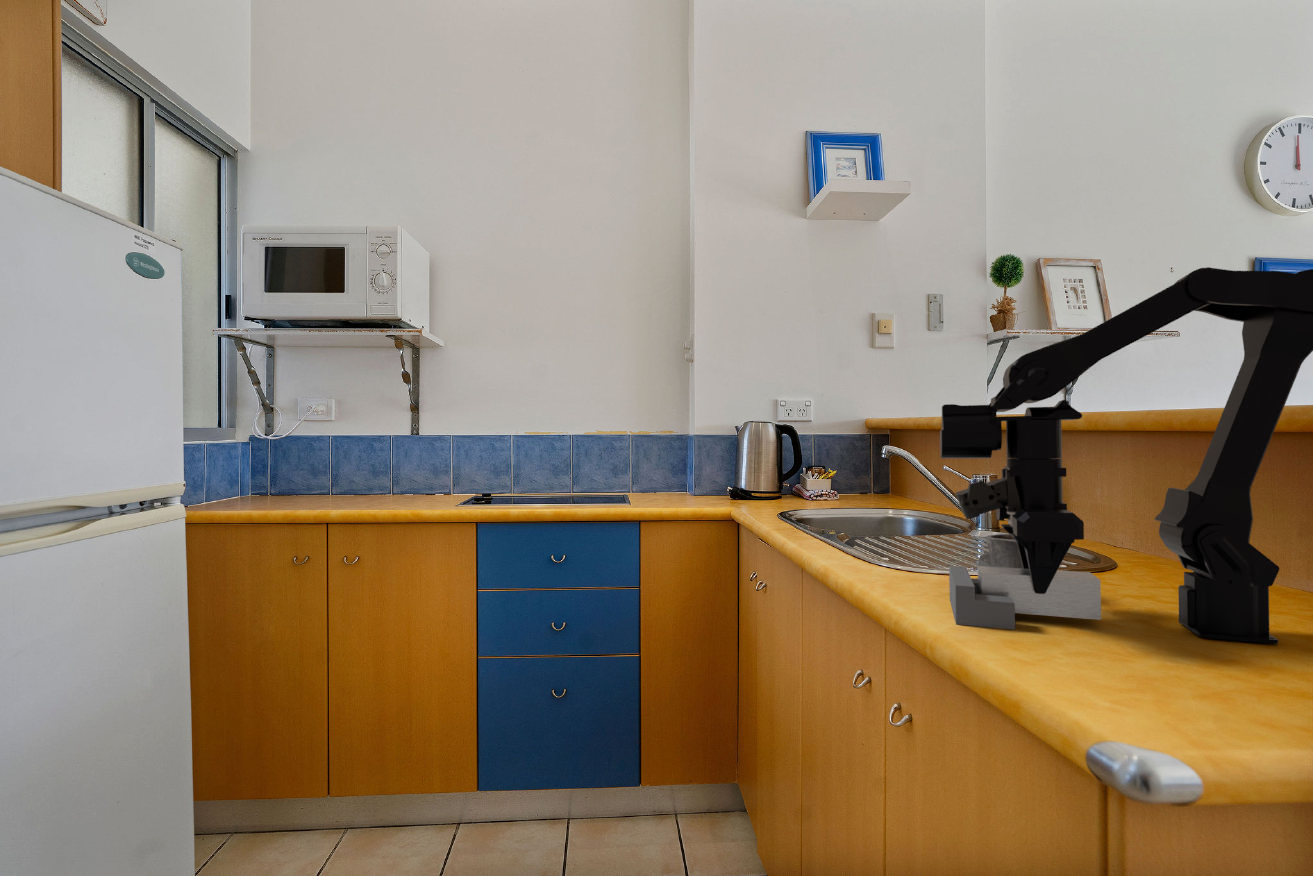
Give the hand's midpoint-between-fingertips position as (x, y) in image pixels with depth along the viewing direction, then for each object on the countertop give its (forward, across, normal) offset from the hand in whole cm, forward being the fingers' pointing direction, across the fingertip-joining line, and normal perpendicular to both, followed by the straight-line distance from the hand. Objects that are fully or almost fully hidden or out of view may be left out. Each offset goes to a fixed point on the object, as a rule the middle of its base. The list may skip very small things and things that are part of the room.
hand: (1035, 588), depth 75 cm
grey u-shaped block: (+3, 0, -6) cm, 7 cm away
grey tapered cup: (+4, -16, -2) cm, 17 cm away
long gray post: (+2, 0, 0) cm, 2 cm away
